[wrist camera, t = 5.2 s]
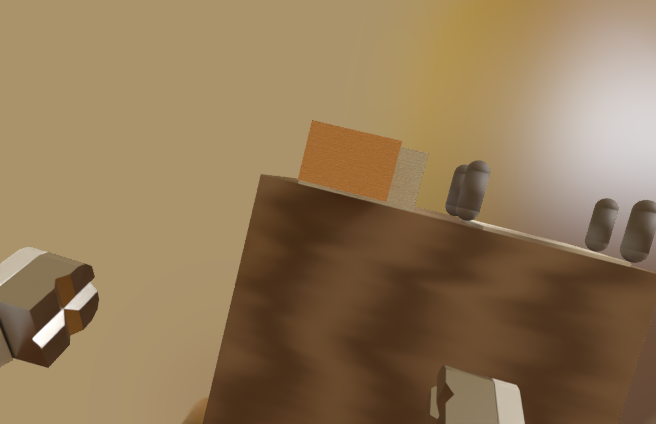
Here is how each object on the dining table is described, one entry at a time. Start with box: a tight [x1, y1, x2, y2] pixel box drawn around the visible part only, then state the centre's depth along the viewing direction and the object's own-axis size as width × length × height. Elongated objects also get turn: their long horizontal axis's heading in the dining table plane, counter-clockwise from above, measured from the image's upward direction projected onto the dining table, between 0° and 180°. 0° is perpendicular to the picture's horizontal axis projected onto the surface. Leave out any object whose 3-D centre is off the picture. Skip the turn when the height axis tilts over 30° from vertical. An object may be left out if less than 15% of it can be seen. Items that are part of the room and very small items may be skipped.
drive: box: [298, 120, 428, 212], centre depth 22 cm, size 6×15×3 cm, turn 173°
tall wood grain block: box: [203, 161, 656, 424], centre depth 30 cm, size 20×14×29 cm
